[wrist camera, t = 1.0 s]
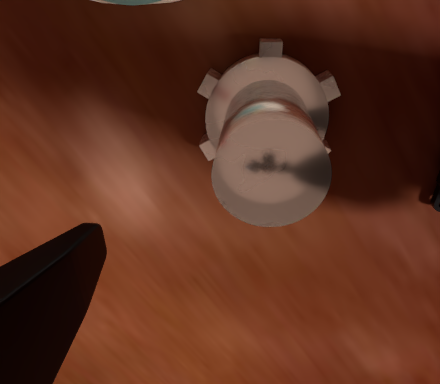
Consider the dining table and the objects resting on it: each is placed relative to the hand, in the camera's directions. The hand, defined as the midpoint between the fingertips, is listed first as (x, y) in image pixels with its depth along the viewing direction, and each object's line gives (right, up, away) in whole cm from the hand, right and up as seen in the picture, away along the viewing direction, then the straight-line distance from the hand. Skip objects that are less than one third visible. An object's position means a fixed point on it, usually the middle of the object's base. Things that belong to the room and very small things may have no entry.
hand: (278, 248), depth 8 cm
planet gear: (+1, +6, +10) cm, 11 cm away
